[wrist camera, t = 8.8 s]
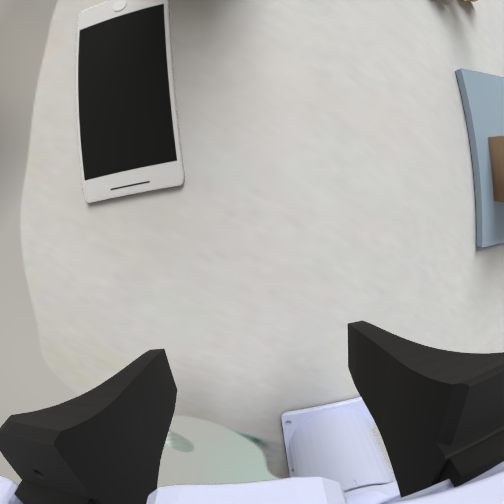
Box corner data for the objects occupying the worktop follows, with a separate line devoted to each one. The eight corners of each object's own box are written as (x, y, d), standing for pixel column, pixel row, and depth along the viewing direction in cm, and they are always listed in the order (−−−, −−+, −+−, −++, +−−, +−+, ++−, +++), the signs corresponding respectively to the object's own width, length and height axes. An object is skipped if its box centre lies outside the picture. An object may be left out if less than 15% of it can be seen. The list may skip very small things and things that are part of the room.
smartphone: (169, -11, 16) (166, -18, 15) (187, 184, 20) (184, 184, 19) (83, 16, 16) (77, 11, 16) (90, 202, 20) (84, 204, 19)
